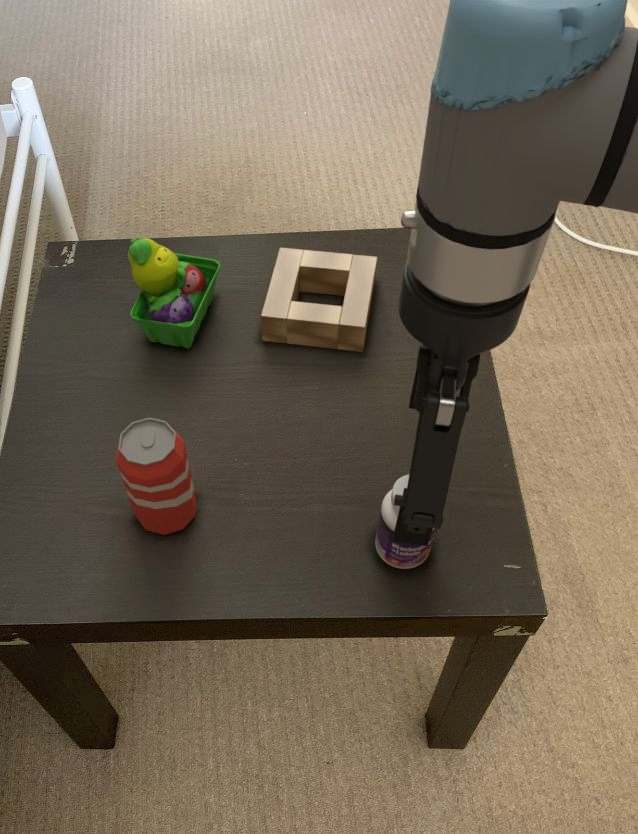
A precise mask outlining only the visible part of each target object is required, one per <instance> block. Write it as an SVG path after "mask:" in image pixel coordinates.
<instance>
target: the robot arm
mask: <svg viewBox="0 0 638 834" xmlns="http://www.w3.org/2000/svg"><path fill="white" fill-rule="evenodd" d="M627 7H628V0H449V5H448V10H447V14H446V19H445V25H444V29H443V34H442V39H441V42H440V43H441V44H440V47H439V48H440V49H439V52H438V58H437V62H436V66H435V71H434V75H433V78H432V80H431V84H430V97H429V105H428V111H427V119H426V125H425V133H424V139H423V147H422V154H421V161H420V167H419V174H418V181H417V190H416V194H415V205H414V206H415V207H414V210H412V209H409V210H408V209H406V210H404V211H403V212H402V214H401V219H400V224H401V226H402V228H404V229H409V230H410V229H411V230H410V235H409V241H408V248H407V254H406V255H407V257H406V260H405V263H404V266H403V272H402V278H401V284H400V291H399V297H398V305H397V306H398V315H399V318H400V320H401V323H402V325H403V326H404V328H405V329H406V331H407V332H408V333H409V334H410V335H411V336H412V337H413V338H414V339H415V340H417V341H418V342H419V343H420V344H419V347H418V350H417V358H416V368H415V373H414V377H413V383H412V387H411V393H410V397H409V403H408V409H412V410H415V411H417V412H418V413H419V414H418V420H417V426H416V434H415V439H414V445H413V450H412V457H411V463H410V470H409V473H408V474H409V480H408V486H407V488H404V491H403V495H396V494H395V499H394V505H396V506H400V508H399V513H398V517H397V521H396V526H395V530H394V535H393V541H396V542H403V543H409V544H416V545H422V546H428V543H429V540H430V537H431V533H432V530H433V528H436V529H437V530H440V528H442V525H443V523H444V516H443V515H444V510H445V507H446V501H447V497H448V493H449V492H448V491H449V488H450V483H451V478H452V475H453V469H454V465H455V460H456V456H457V453H458V452H457V451H458V446H459V442H460V437H461V434H462V430H463V426H464V422H465V419H466V415H467V413H469V411H470V399H469V398H470V392H471V389H472V383H473V380H474V379H475V378H476V377H477V375H478V372H479V366H480V361H481V354H483V353H485V352H488V351H491V350H493V349H495V348H497V347H499V346H500V345H502V344H503V343H505V342H506V341H507V340H508V339H510V337H511V336H512V335H513V334H514V331H515V330H516V328H517V326H518V323H519V321H520V318H521V315H522V311H523V308H524V306H525V303H526V300H527V298H528V294H529V291H530V288H531V283H532V282H533V281H534V279H535V277H536V274H537V271H538V268H539V266H540V263H541V260H542V257H543V254H544V251H545V248H546V246H547V242H548V240H549V237H550V234H551V231H552V229H553V226H554V223H555V220H556V215H557V210H558V207H559V205H560V203H561V202H565V203H570V204H578V205H582V206H588V207H594V208H606V209H611V210H617V211H622V212H627V213H633V214H638V28H637V27H634V26H633V27H632V26H626V17H625V15H626V11H627ZM457 391H459V395H457V396H456V393H457Z"/></svg>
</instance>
